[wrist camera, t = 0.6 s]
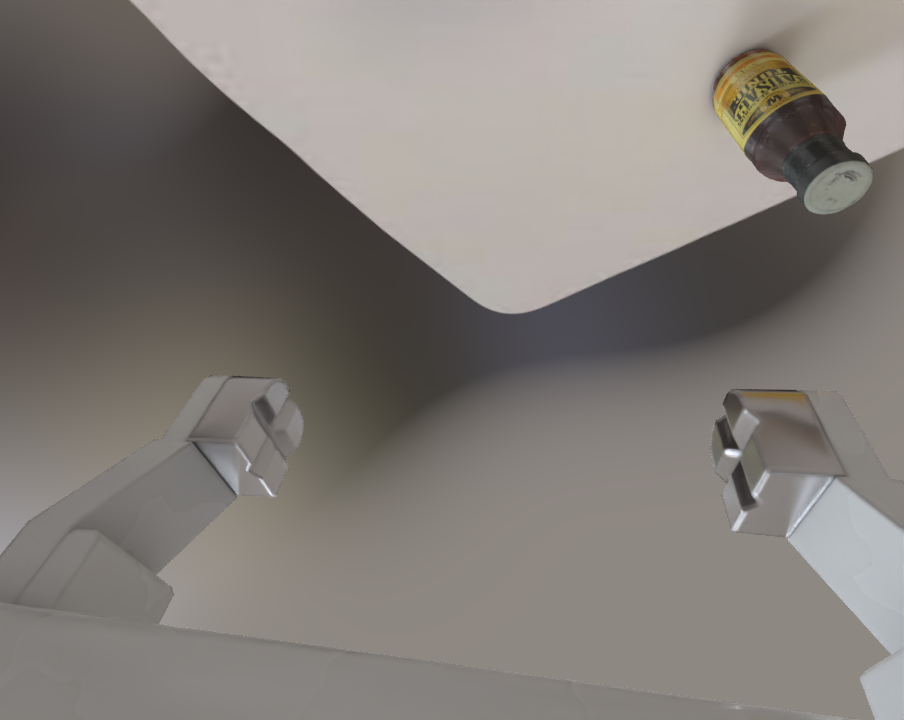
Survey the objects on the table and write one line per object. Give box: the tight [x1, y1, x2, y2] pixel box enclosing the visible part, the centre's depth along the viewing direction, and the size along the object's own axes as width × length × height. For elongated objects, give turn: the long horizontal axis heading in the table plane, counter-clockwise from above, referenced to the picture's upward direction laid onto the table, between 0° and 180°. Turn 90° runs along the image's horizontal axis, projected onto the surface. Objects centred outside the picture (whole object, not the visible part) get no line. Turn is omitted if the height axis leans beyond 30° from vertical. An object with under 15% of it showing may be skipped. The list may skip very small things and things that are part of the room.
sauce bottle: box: [712, 49, 873, 214], centre depth 39 cm, size 7×6×20 cm
